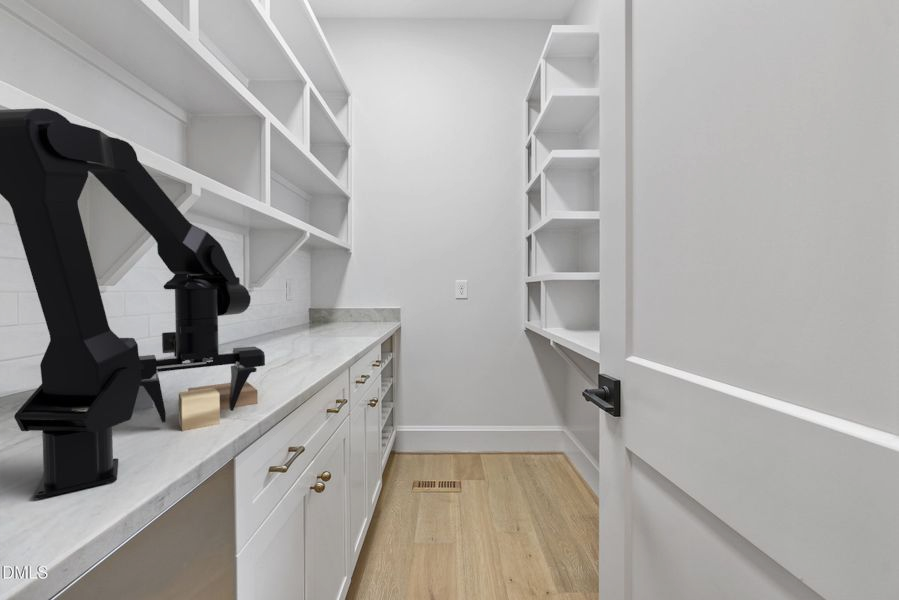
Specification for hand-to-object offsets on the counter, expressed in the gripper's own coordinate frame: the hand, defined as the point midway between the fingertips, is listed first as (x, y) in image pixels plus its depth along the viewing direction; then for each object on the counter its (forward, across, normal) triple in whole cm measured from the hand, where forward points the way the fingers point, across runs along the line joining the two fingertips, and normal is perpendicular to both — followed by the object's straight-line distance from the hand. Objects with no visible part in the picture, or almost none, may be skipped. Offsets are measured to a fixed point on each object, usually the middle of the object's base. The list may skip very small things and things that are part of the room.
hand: (199, 415), depth 64 cm
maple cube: (+1, 0, 0) cm, 1 cm away
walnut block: (+2, -5, -11) cm, 12 cm away
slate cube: (+1, +8, -18) cm, 20 cm away
